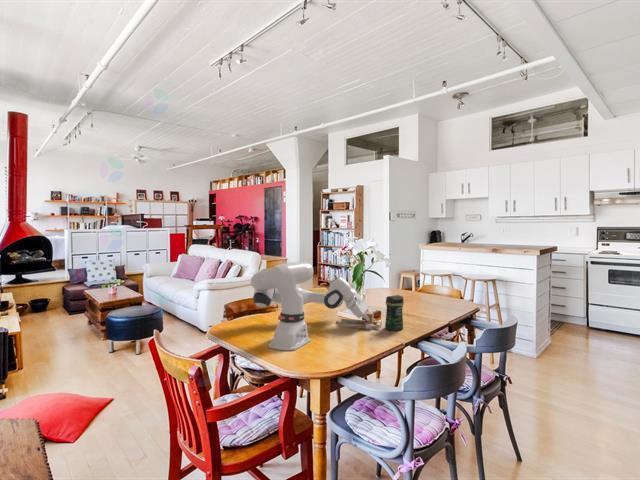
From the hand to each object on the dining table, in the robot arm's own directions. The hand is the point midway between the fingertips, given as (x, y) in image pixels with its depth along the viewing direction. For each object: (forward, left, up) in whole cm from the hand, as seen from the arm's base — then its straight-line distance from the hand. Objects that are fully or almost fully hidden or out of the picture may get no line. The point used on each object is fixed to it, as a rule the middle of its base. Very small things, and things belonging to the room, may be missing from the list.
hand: (370, 318), depth 203 cm
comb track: (0, +7, -5) cm, 8 cm away
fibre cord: (0, +8, -5) cm, 9 cm away
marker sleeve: (0, +1, -4) cm, 4 cm away
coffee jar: (0, -13, -5) cm, 14 cm away
